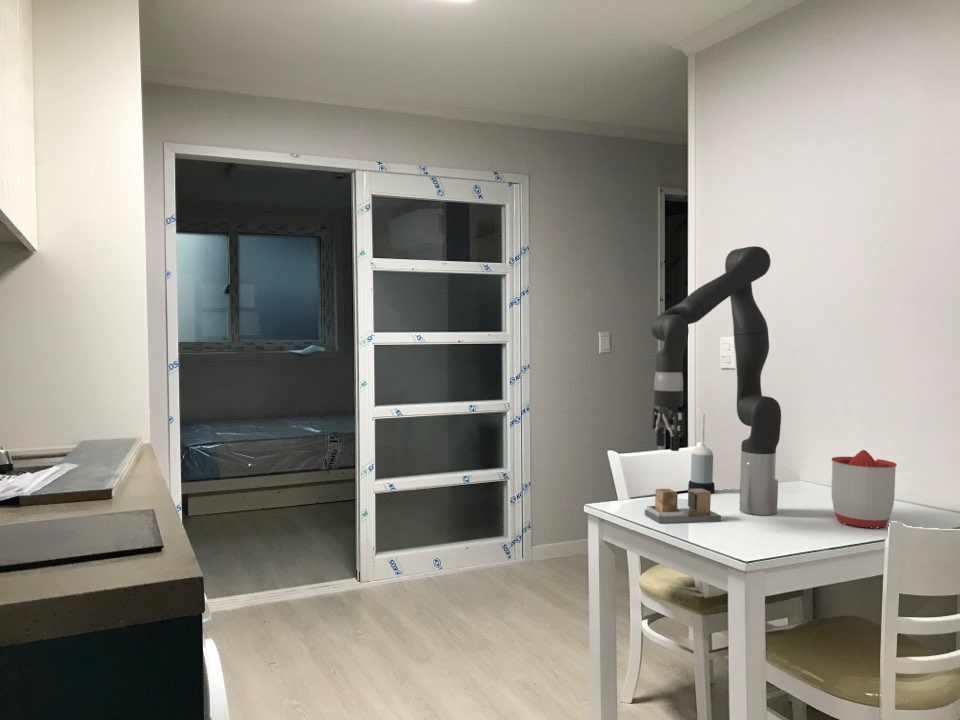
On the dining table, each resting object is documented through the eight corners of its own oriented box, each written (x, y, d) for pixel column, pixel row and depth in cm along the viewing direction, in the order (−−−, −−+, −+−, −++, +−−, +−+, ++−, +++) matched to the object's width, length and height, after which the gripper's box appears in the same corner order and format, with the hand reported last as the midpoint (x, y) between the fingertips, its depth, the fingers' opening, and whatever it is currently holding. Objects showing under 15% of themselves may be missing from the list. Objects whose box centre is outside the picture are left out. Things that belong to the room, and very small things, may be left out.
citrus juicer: (896, 520, 199) (898, 448, 198) (893, 534, 184) (895, 456, 184) (833, 512, 207) (835, 443, 207) (825, 525, 193) (828, 450, 192)
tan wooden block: (670, 510, 199) (670, 488, 199) (677, 514, 194) (678, 492, 194) (654, 510, 198) (655, 489, 198) (662, 514, 194) (662, 492, 193)
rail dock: (704, 513, 203) (705, 486, 203) (721, 521, 195) (721, 493, 194) (644, 515, 200) (645, 488, 200) (658, 523, 191) (659, 495, 191)
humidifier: (711, 489, 237) (713, 413, 236) (717, 494, 229) (719, 415, 228) (685, 488, 238) (687, 412, 237) (690, 493, 229) (693, 415, 229)
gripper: (694, 390, 189) (692, 452, 189) (669, 386, 203) (668, 444, 203) (667, 390, 187) (666, 453, 188) (644, 386, 201) (643, 444, 202)
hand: (667, 448), depth 196 cm, fingers open, 8 cm apart
